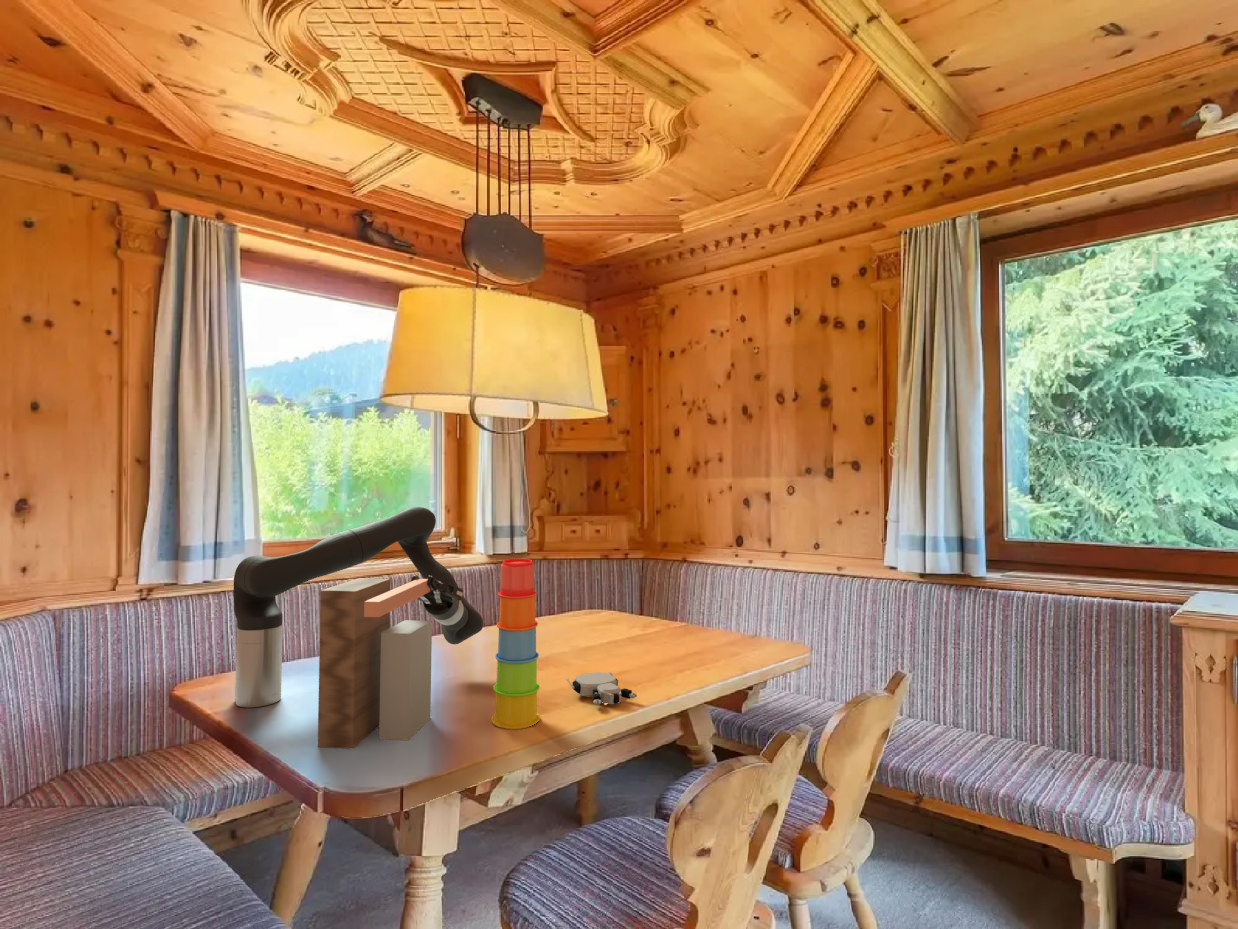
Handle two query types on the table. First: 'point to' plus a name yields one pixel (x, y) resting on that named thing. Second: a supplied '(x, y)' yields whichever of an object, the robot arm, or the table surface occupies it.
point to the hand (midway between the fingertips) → (421, 579)
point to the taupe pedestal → (405, 679)
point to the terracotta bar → (395, 598)
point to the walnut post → (349, 663)
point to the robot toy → (600, 687)
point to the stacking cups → (516, 648)
